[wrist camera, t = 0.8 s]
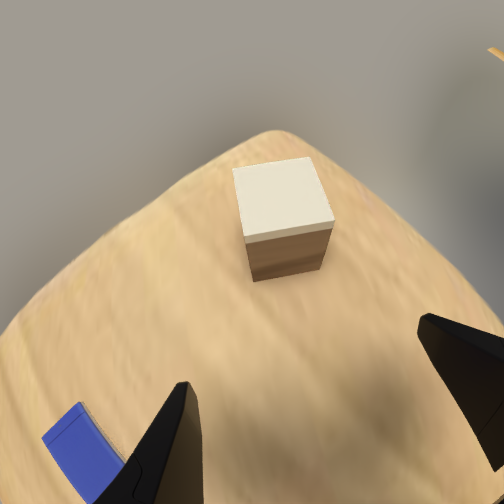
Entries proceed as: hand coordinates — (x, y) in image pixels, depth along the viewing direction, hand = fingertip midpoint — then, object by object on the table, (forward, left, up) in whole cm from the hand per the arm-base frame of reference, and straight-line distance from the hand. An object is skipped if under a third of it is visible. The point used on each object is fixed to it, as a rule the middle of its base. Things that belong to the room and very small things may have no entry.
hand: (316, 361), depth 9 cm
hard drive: (+2, +21, -14) cm, 25 cm away
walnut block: (+9, -7, -13) cm, 18 cm away
